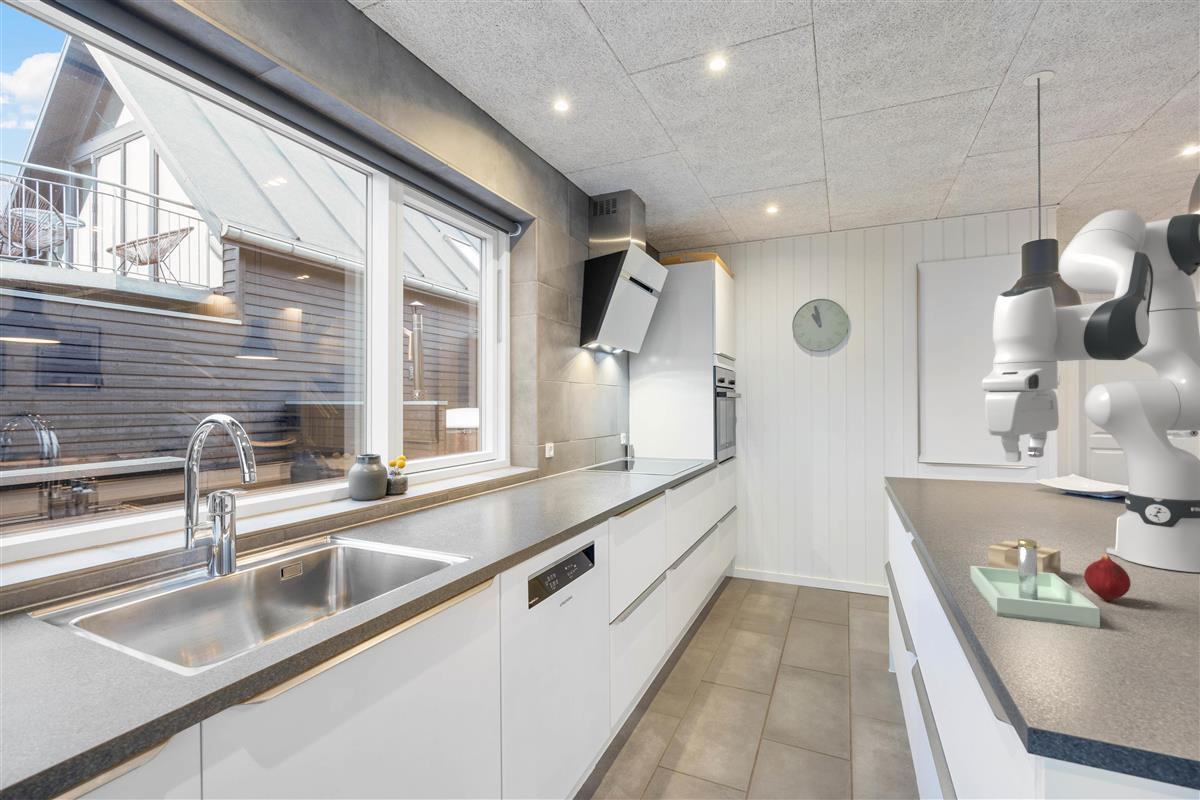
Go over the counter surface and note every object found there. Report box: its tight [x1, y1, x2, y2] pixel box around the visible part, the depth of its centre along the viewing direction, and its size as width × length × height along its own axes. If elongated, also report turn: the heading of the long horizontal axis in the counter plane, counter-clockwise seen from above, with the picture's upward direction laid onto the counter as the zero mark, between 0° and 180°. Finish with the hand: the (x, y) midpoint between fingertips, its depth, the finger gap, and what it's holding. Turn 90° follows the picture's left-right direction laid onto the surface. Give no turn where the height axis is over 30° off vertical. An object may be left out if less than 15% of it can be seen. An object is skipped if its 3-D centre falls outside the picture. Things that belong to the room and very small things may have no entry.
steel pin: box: [1017, 538, 1038, 600], centre depth 93 cm, size 3×3×10 cm
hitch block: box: [987, 540, 1062, 577], centre depth 108 cm, size 9×9×5 cm
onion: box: [1083, 553, 1132, 602], centre depth 93 cm, size 6×6×8 cm
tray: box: [970, 565, 1101, 629], centre depth 93 cm, size 18×13×3 cm
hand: (1025, 459), depth 93 cm, fingers open, 8 cm apart
